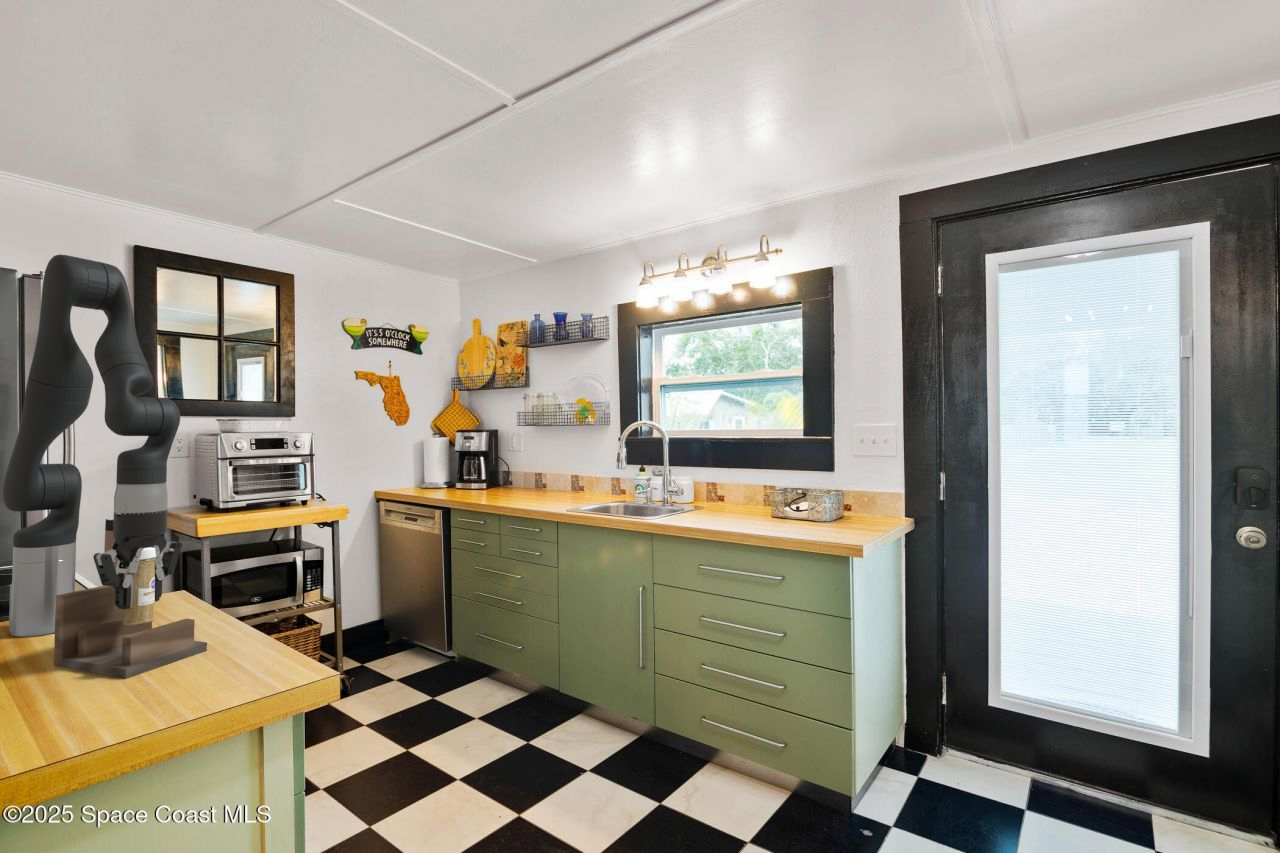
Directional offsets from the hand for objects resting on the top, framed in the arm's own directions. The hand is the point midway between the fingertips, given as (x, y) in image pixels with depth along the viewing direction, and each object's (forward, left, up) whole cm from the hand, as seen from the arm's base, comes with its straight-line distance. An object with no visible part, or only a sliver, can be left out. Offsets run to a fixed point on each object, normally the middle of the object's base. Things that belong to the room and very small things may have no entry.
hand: (138, 604), depth 112 cm
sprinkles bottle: (0, 0, -3) cm, 3 cm away
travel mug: (-37, +23, -10) cm, 45 cm away
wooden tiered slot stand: (0, 0, -10) cm, 10 cm away
